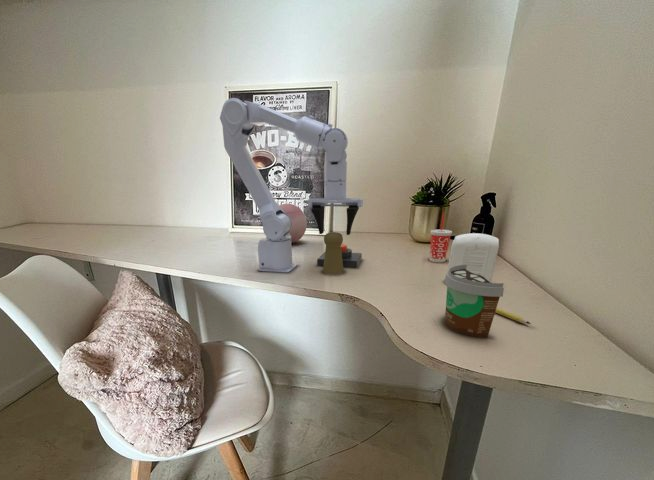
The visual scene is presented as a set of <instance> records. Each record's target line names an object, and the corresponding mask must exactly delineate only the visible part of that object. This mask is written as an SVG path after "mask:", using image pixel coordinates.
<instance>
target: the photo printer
mask: <svg viewBox="0 0 654 480" xmlns="http://www.w3.org/2000/svg"><path fill="white" fill-rule="evenodd" d="M499 243H500V239H499V238H498V237H496V236H494V235H490V234H487V233H478V232H477V233H476V232H472V233H464V234H463V233H462V234H459V235H456V236H454V239H453V241H452V243H451V248H450V254H449V259H448V266H447V270H446V271H447V272H448V271H449V269H450V268H451V267H454V266H458V265H467V268H466V270H468V271H469V272H471V273H474V274H477V275H481V276H483V277H484V278H485V279H487V280H488V281H489V282H490V283H492V280H493V275H494V271H495V266H496V262H497V258H498V253H499V249H500V244H499ZM447 272H446V273H447Z"/></svg>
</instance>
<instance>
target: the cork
mask: <svg viewBox="0 0 654 480" xmlns="http://www.w3.org/2000/svg"><path fill="white" fill-rule="evenodd" d="M343 241H344V237H343V234H342V233H340V232H335V231H333V232H327V233H326V234H324V236H323V242H324V244H325V250H324V252H325V258H324V265H323V266H322V273H323V274H325V275H329V276H330V275H332V276H334V275H335V276H336V275H341V274H344V271H345V270H344V267H343V261H342V252H341V244H343Z"/></svg>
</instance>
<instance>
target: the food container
mask: <svg viewBox="0 0 654 480" xmlns="http://www.w3.org/2000/svg"><path fill="white" fill-rule="evenodd" d="M466 268H467V265H458V266H454V267H451V268H450V269H449V271H448V272H446V274H445V277H444V279H443V283H444V284H445V285H446V286H447V287H446V299H445V310H444V311H445V314H444V325H445V326H446V327H447V328H448V329H450V330H452V331H453V332H456V333H459V334H461V335H465V336H469V337H479V338H488V337H489V335H490V334H489V333H490V331H491V327H492V324H493V321H494V317H495V314H496V312H495V311H496V308H498V304H499V301H500V298H503V297H504V282H491V283H490V282H489V281H488V280H487V279H485V278H484V277H483V276H481V275H477V274H474V273H471V272H469V271H468V270H466Z"/></svg>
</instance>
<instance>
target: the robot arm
mask: <svg viewBox="0 0 654 480" xmlns="http://www.w3.org/2000/svg"><path fill="white" fill-rule="evenodd" d="M219 120H220V123H221V126H222V137H223V147H224V150H225V151H226V153H227V155H228V157H229V159H230V161H231V162H232V164H233V166H234V168H235V170H236V172H237V173H238V176H239V177H240V178H241V180H242V182H243V184H244V186H245V187H246V190H247V191H248V193H249V194H250V196H251V198H252V200H253V202H254V204H255V205H256V207H257V209H258V212H259V213H258V214H259V220H260V222H261V224H262V231H263V234H264V236H265V238H264V237H263V238H260V239H259V241H258V244H257V255H258V256H257V257H258V271H259V272H260V271H261V272H272V273H286V274H287V273H290V272H291V271H292V270H294V269H295V268H296V267H297V266H298V264H297V263H293V249H292V247H293V246H292V244H293V243H291V235H290V234H289V231H290V230H291V228H292V220H291V218H290V217H289V216H288V215H287V214H286V213H285V212H284V211H283V210H282V208H281V207H280V206H279V205H280V204H278V202H277V201H276V200H275V198H274V196H273V195H272V192H271V191H270V189H269V187H268V185H267V183H266V181H265V179H264V178H263V176H262V174H261V171H260V170H259V168H258V167H257V165H256V163H255V160H254V159H253V157H252V155H251V153H250V151H249V150H248V148H247V145H248V142H249V141H248V140H249V138H250V135H252V133H253V131H254V130H255V128H256V126H258V127H261V126H264V125H266V124H267V125H270V126H273V127H276V128H279V129H281V130H285V131H287V132H290V133H293V134H294V137H295V139H296V141H297V142H300V143H301V144H305V145H308V146H310V147H313V148H315V149H318V150H322V149H324V162H323V163H324V164H323V165H324V173H323V175H324V179H323V181H324V185H323V186H324V187H323V188H324V190H323V191H324V193H323V195H324V196H323V198H322V197H320V198H317V197H315V198H308V199H307V200H308V201H307V206H308V207H311V208H310V212H311V213H312V215H313V217H314V219H315V222H316V225H317V229H318V234H319V235H323V234H324V231H325V225H324V214H325V207H343V208H345V207H346V236H350V235H351V232H352V227H353V224H354V220H355V218H356V216H357V213H358V212H359V209H360V208H362V207H363V206H364V199H363V198H350V197H347V173H348V172H347V171H348V170H347V167H348V163H347V162H348V161H347V155H348V154H347V151H346V149H347V147H348V143H349V140H348V136H347V134H346V133H345V132H344V131H343V130H342V129H340V128H339V127H333V124H332V123H330V122H329V123H324V122H321V121H320V120H319V121H318V120H316V117H315V116H313V115H311V114H309V115H308V116H306V115H303V116H302V117H299V118H298V119H297V118H294V117H292V116H290V115H287V114H285V113H282V112H280V111H278V110H275V109H272V108H270V107H268V106H266V105H263V104H260V103H256V102H253V101H249V100H241V99H239V98H237V97H230V98H228V99H227V100H226V101H225V102H224V103H223V105H222V108H221V111H220V115H219ZM308 207H307V208H308Z"/></svg>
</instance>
